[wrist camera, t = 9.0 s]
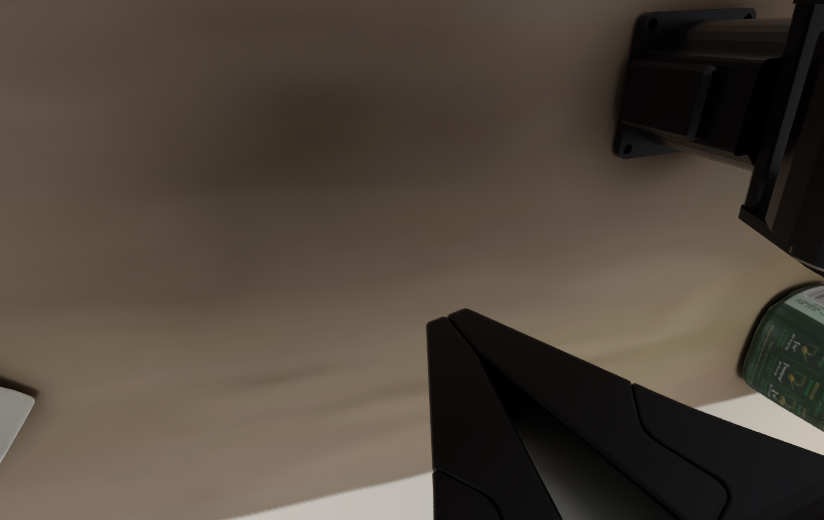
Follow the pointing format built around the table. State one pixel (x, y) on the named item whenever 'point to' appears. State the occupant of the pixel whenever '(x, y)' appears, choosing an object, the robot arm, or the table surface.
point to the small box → (12, 416)
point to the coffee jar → (791, 355)
